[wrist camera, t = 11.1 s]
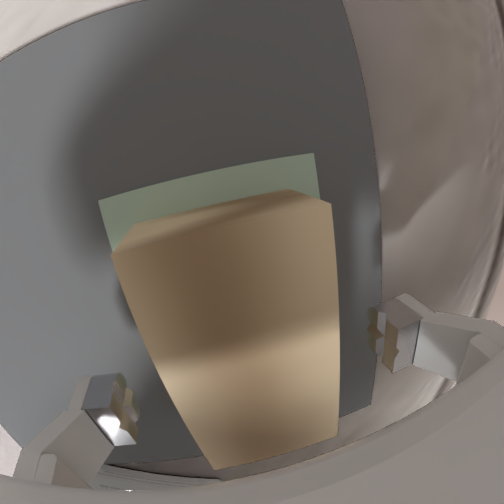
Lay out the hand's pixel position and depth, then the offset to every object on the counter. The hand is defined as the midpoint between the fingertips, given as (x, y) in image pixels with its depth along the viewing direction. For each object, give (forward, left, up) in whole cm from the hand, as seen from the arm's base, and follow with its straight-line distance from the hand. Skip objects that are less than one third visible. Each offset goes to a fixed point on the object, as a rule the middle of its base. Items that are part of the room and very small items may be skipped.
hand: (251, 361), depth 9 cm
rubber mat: (+2, +5, -3) cm, 6 cm away
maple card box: (0, 0, -2) cm, 2 cm away
